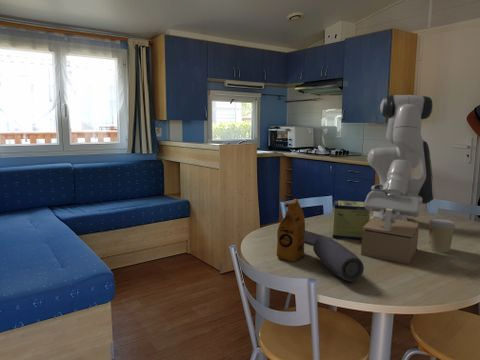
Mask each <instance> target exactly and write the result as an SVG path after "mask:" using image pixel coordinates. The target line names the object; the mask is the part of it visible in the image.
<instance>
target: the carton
mask: <svg viewBox="0 0 480 360" xmlns="http://www.w3.org/2000/svg"><path fill="white" fill-rule="evenodd" d="M419 230H420V225H419V226H418V228H417V229H416V231H415V233H414V235H413V236H412V237H407V236H401V235H395V234H388V233H382V232H376V231H370V230H363V231H362V240H361V247H360V249H361V250H360V255H361V256H366V257H372V258H375V259H376V258H377V259H380V260H386V261H390V262H391V261H392V262H396V263H400V264H401V263H402V264H405V265H406V264H407V265H410V264H411V262H412V260H413V258H414V256H415V254H416V252H417V250H418V241H419V240H418V239H419Z"/></svg>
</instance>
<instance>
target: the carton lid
mask: <svg viewBox="0 0 480 360" xmlns="http://www.w3.org/2000/svg"><path fill="white" fill-rule="evenodd" d="M392 213H393V209H388V208H387V209H386V213H385V222H382V221H381V218H382V217H375V216H374V217H373V218H372V219H369V222H368V223H367V224H366V225H365V226H363V229H364V230H370V231H376V232H382V233H388V234H395V235H401V236H407V237H412V236H413V235H414V233H415V231H416V229H417V228H418V226H419V227H420V222H417V221H415V222H414V221H408V220H407V221H403V220H396V221H395V223H391V217H392Z"/></svg>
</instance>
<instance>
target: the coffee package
mask: <svg viewBox="0 0 480 360" xmlns="http://www.w3.org/2000/svg"><path fill="white" fill-rule="evenodd" d="M284 207H285V208H287V211H286V212H285V215H284V217H283V218H282V219H281V221H280V222H279V225H278V229H277V232H276V235H277V237H276V239H277V242H276V244H277V245H276V256H277V258H278V259H279V260H280V259H281V260H284V261H287V262H297V261H298V260H299V259H301V258H302V257H303V256H304V253H305V243H304V239H305V231H306V222H305V220H306V219H305V214H304V211H303V208H302V207H301V205H300V203H299V201H298V198H293V199H292V202H288V203H286V204H284Z"/></svg>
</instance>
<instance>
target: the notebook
mask: <svg viewBox="0 0 480 360" xmlns="http://www.w3.org/2000/svg"><path fill="white" fill-rule="evenodd" d="M323 236H324V235H322V234H319V233H316V232H311V231H307V230H305V239H304V245H305V244H306V245H308V246H312V247H313V246H314V243H315V241H316V240H317V239H318V238H320V237H323ZM328 237H329V238H331V239H333V237H330V236H328Z"/></svg>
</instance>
